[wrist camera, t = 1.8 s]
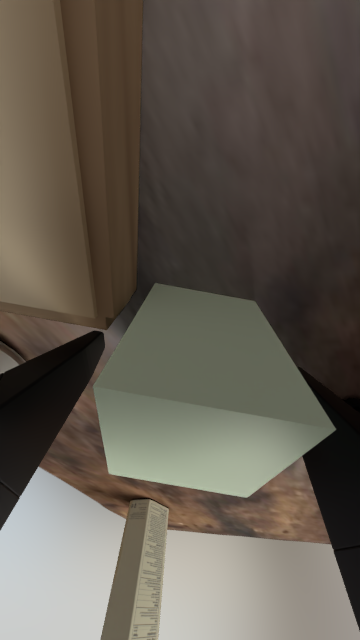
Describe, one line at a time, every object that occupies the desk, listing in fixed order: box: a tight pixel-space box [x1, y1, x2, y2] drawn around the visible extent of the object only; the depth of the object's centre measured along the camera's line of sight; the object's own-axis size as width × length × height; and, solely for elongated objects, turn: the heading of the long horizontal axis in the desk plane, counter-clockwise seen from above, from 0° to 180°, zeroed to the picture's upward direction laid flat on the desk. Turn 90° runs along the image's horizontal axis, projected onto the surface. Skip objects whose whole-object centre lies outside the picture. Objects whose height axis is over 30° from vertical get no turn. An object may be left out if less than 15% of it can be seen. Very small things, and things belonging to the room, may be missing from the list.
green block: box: [93, 283, 336, 498], centre depth 7 cm, size 5×5×6 cm
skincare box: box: [101, 499, 169, 640], centre depth 25 cm, size 6×4×12 cm
